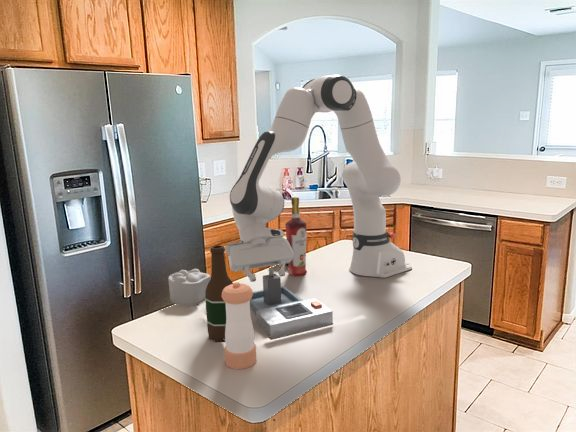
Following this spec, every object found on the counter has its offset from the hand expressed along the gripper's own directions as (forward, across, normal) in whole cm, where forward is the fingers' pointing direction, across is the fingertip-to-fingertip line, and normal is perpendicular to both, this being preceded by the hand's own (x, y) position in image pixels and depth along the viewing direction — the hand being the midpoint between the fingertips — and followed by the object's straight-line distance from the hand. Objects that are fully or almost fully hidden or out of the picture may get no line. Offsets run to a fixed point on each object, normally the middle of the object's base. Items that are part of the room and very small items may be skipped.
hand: (268, 278), depth 137 cm
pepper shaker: (+26, -19, -14) cm, 35 cm away
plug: (+6, 0, +3) cm, 7 cm away
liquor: (-7, +18, +18) cm, 27 cm away
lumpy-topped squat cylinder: (-5, -21, +17) cm, 27 cm away
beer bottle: (+16, -19, -4) cm, 25 cm away
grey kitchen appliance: (+18, 0, -7) cm, 19 cm away
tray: (+7, 0, +4) cm, 8 cm away
